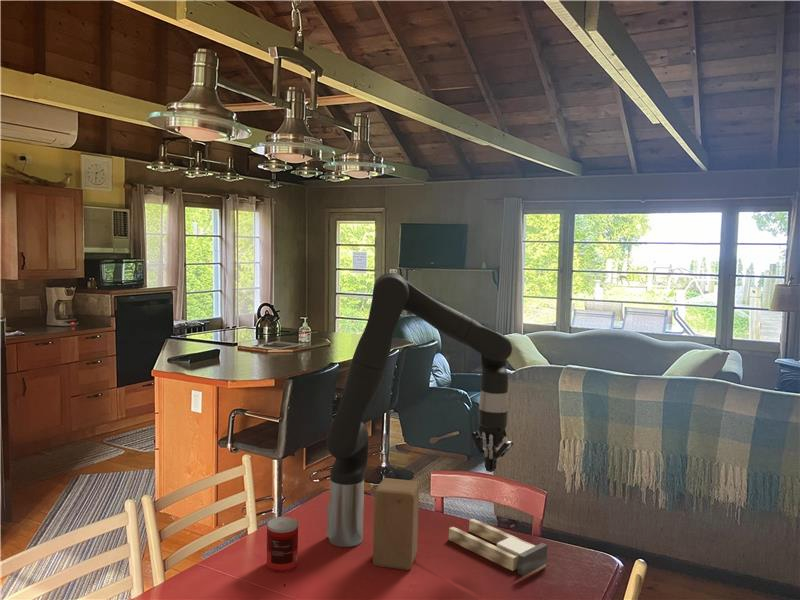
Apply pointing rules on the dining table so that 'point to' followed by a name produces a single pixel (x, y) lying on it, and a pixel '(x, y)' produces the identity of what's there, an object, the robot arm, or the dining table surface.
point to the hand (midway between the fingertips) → (490, 470)
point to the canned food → (282, 544)
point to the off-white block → (514, 546)
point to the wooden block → (395, 523)
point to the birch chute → (526, 560)
